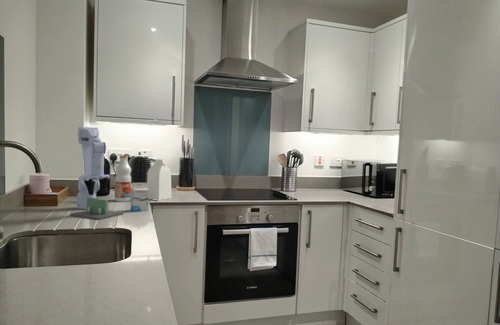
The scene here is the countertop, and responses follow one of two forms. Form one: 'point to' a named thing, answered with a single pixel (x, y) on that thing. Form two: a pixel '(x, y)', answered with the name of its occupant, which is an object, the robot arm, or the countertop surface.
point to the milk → (159, 181)
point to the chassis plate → (96, 214)
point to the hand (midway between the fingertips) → (96, 194)
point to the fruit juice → (123, 181)
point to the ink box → (139, 197)
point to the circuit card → (97, 205)
